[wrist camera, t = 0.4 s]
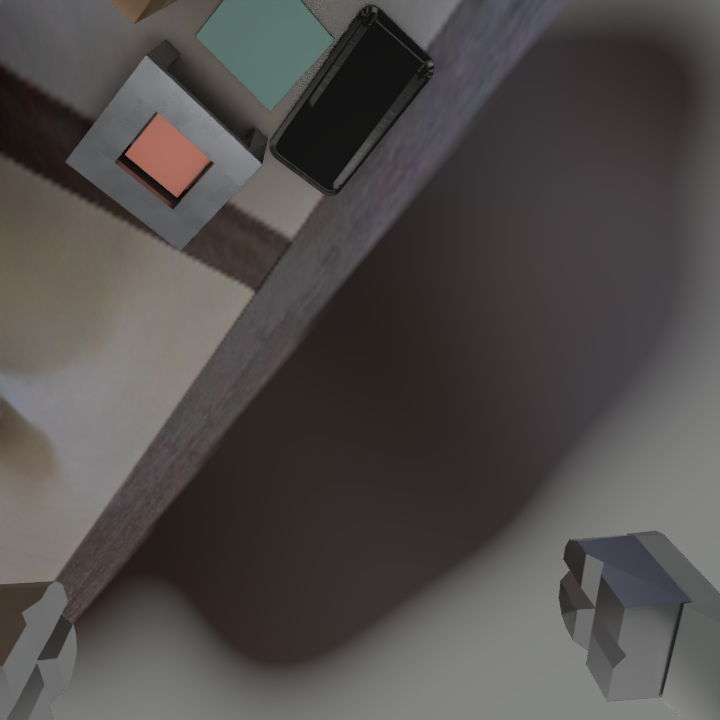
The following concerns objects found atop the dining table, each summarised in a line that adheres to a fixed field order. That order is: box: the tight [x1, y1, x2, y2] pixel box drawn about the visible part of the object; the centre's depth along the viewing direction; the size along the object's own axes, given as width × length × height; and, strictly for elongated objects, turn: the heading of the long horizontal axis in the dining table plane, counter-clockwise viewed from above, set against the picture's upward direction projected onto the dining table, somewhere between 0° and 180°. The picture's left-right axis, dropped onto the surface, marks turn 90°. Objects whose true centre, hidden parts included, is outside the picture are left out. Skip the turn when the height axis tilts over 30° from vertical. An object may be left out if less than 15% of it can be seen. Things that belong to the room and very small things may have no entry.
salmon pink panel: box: [125, 114, 210, 197], centre depth 48 cm, size 5×5×2 cm
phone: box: [270, 6, 434, 196], centre depth 51 cm, size 8×1×15 cm
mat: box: [195, 0, 334, 111], centre depth 47 cm, size 8×8×1 cm
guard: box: [66, 40, 268, 251], centre depth 49 cm, size 11×11×7 cm
